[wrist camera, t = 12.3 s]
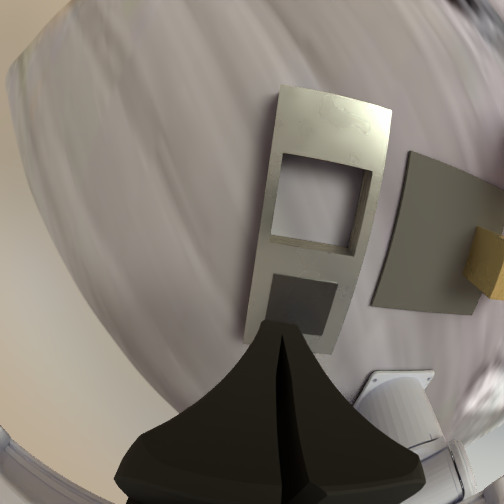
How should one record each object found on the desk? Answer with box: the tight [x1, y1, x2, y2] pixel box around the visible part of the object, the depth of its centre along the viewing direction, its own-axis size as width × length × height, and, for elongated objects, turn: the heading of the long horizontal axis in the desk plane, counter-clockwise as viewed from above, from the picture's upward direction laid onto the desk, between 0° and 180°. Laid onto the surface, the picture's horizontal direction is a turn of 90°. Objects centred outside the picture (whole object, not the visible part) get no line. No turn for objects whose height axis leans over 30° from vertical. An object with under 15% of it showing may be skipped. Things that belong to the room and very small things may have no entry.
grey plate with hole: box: [243, 85, 392, 355], centre depth 17 cm, size 18×7×2 cm, turn 172°
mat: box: [371, 151, 504, 315], centre depth 17 cm, size 12×12×1 cm
